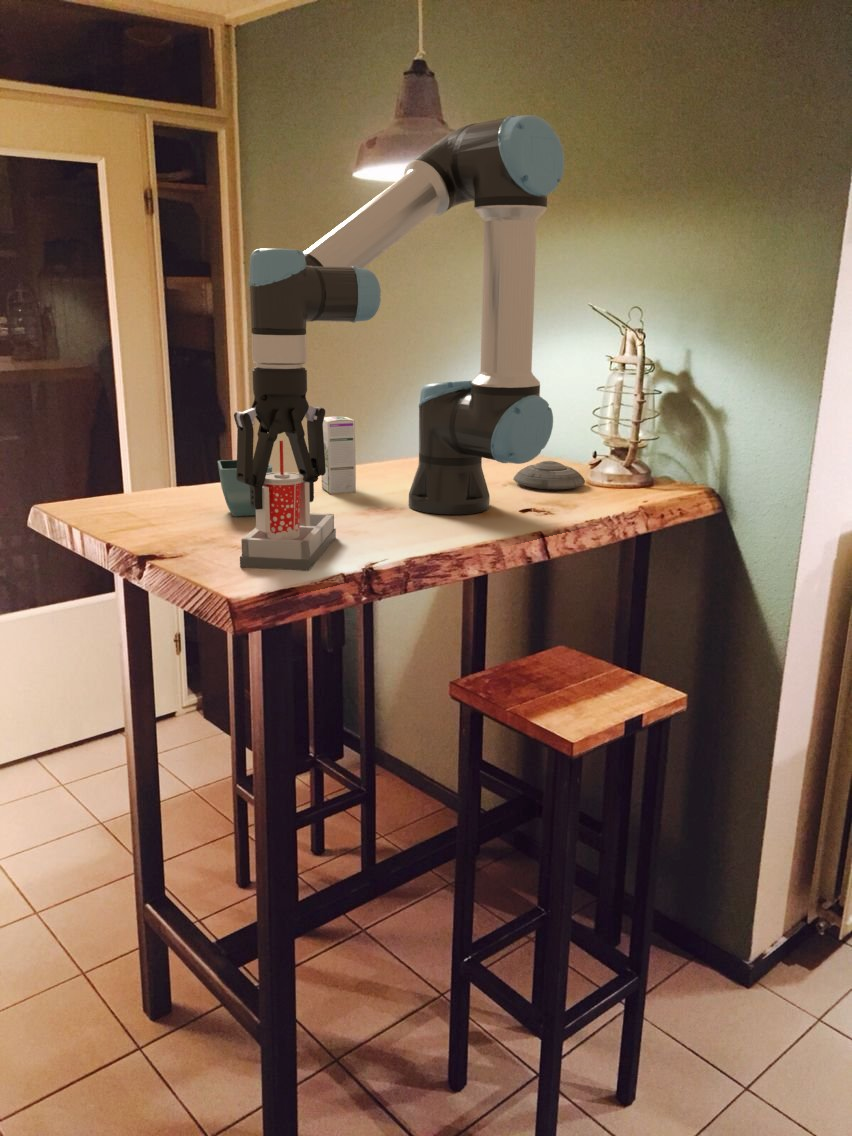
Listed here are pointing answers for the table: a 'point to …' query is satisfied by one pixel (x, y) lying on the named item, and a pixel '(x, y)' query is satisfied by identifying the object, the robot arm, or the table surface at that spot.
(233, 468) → the flower pot
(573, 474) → the flying saucer
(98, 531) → the table surface
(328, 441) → the syrup box
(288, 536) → the beverage cup
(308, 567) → the divided tray
